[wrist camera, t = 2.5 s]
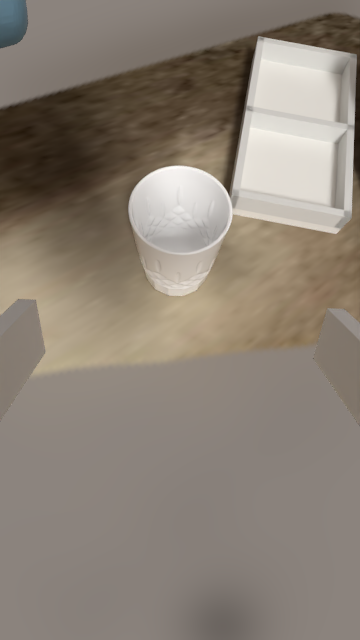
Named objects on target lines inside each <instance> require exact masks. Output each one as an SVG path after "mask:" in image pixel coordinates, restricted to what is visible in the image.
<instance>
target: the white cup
mask: <svg viewBox="0 0 360 640" xmlns="http://www.w3.org/2000/svg"><path fill="white" fill-rule="evenodd" d="M128 213H129V219H130V223H131V226H132V230H133V234H134V238H135V242H136V246H137V250H138V253H139V256H140V260H141V263H142V265H143V267H144V270H145V274H146V278H147V279H148V281H149V282H150V283H151V284H152V286H153V287H154V288H155V289H156V290H158V291H160V292H162V293H164V294H166V295H168V296H184V295H187V294H189V293H192V292H194V291H196V290H197V289H198V288H199V287H200V286H201V285H202V283H203V282H204V281H205V280H206V278H207V275H208V273H209V271H210V270H211V268H212V266H213V264H214V261H215V259H216V257H217V255H218V253H219V251H220V248H221V246H222V243H223V241H224V238H225V236H226V234H227V232H228V229H229V227H230V224H231V221H232V214H233V210H232V203H231V199H230V197H229V194H228V193H227V191H226V189H225V188H224V186H223V185H222V184H221V183H220V182H219V181H218V180H217V179H216V178H215V177H213V176H212V175H210V174H209V173H207V172H205V171H203V170H200V169H197V168H194V167H189V166H168V167H164V168H160V169H158V170H155V171H153V172H151V173H149V174H148V175H146V176H145V177H144V178H143V179H141V180H140V181H139V183H138V184H137V185H136V186H135V188H134V189H133V191H132V193H131V196H130V199H129V205H128Z"/></svg>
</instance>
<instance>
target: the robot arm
mask: <svg viewBox="0 0 360 640" xmlns="http://www.w3.org/2000/svg"><path fill="white" fill-rule="evenodd" d="M27 17H28V16H27V7H26V0H0V48H3V47H7V46H11V45H14V44H17V43H18V42H20V41H21V40H22V38H23V36H24V35H25V33H26V30H27V25H28V19H27ZM44 354H45V346H44V341H43V336H42V330H41V325H40V320H39V314H38V309H37V304H36V300H25V299H18V300H17V301H16V302H15V303H14V304H13V305H11V306H10V307H9V308H8V309H7V310H6V311H5V312H4V313H3V314H2V315H1V316H0V421H1V420H2V418H3V416H4V415H5V413H6V412H7V410H8V409H9V407H10V406H11V404H12V403H13V401H14V400H15V398H16V397H17V395H18V394H19V392H20V390H21V389H22V387H23V386H24V384H25V383H26V381H27V380H28V378H29V377H30V375H31V374H32V372H33V371H34V369H35V368H36V366H37V364H38V363H39V361H40V360H41V358H42V357H43V355H44ZM313 359H314V360H315V362H316V363H317V365H318V366H319V368H320V369H321V371H322V372H323V374H324V375H325V376H326V378H327V379H328V381H329V382H330V384H331V385H332V387H333V388H334V390H335V391H336V393H337V394H338V395H339V397H340V398H341V400H342V401H343V403H344V404H345V406H346V407H347V409H348V410H349V411H350V413H351V414H352V416H353V417H354V419H355V420H356V422H357V423H358V425H359V426H360V323H359V322H358V321H357V320H356V319H354V318H353V317H352V316H351V315H350V314H349V313H348V312H347V311H346V310H344V309H327V312H326V315H325V319H324V322H323V326H322V329H321V333H320V336H319V340H318V343H317V347H316V350H315V354H314V358H313Z"/></svg>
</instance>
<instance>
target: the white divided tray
mask: <svg viewBox="0 0 360 640" xmlns="http://www.w3.org/2000/svg"><path fill="white" fill-rule="evenodd" d="M356 63H357V55H356V54H351V53H345V52H340V51H335V50H329V49H324V48H318V47H313V46H307V45H302V44H297V43H291V42H286V41H280V40H275V39H269V38H264V37H259V36H258V40H257V44H256V48H255V52H254V56H253V60H252V65H251V71H250V77H249V82H248V88H247V94H246V100H245V106H244V111H243V117H242V123H241V129H240V135H239V140H238V146H237V152H236V158H235V164H234V170H233V175H232V181H231V187H230V193H229V197H230V199H231V203H232V210H233V214H235V215H240V216H245V217H250V218H256V219H261V220H266V221H271V222H277V223H282V224H287V225H292V226H297V227H303V228H308V229H313V230H318V231H324V232H329V233H334V234H337V233H338V232H339V231H340V229H341V228H342V227H343V226H344V225H345V224H346V223H347V222H348V221H349V220H350V219H351V216H352V185H353V155H354V124H355V94H356Z"/></svg>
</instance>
